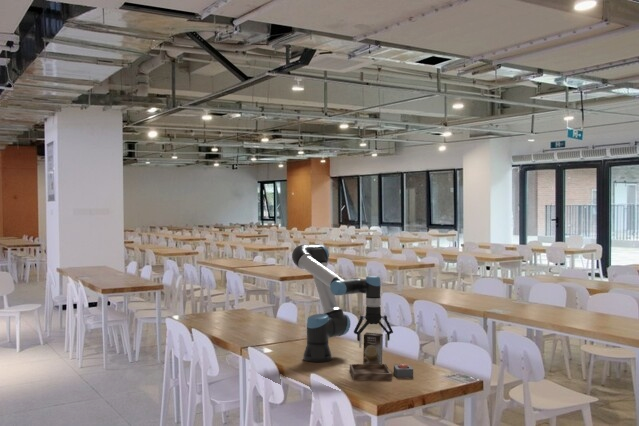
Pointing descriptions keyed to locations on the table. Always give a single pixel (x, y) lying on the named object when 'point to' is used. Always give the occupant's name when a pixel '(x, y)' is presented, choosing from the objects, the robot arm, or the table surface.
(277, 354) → the table surface
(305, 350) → the robot arm
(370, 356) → the coffee box
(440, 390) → the table surface
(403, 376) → the button housing
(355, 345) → the table surface
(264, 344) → the table surface
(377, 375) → the wooden tray
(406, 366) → the button
